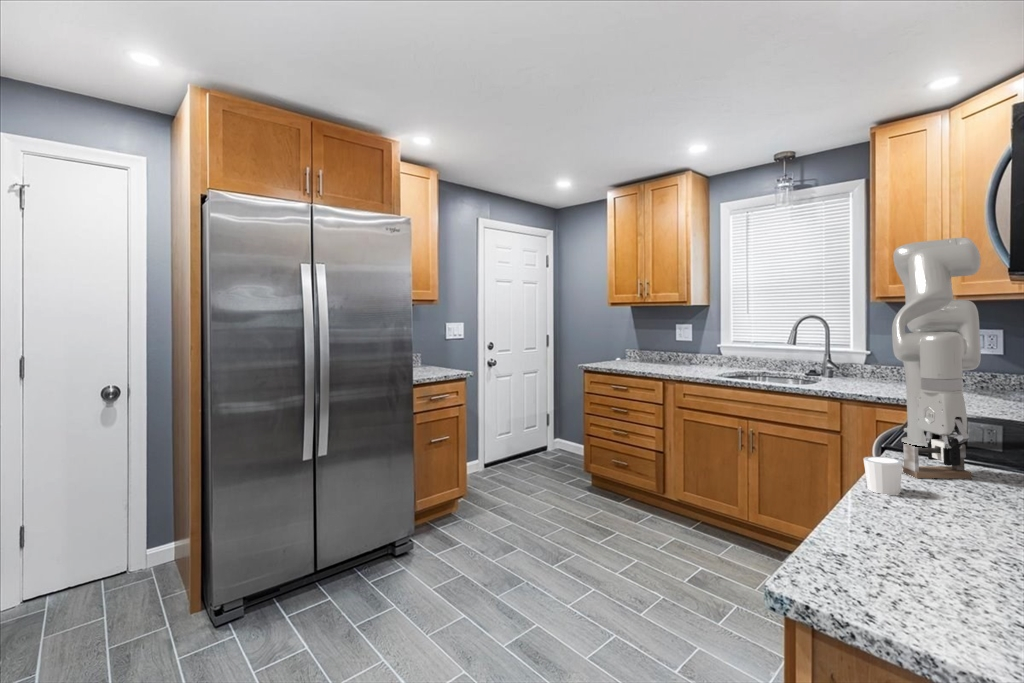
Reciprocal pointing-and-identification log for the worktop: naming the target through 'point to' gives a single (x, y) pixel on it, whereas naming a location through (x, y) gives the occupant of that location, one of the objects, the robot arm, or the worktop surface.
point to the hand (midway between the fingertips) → (943, 461)
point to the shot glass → (883, 474)
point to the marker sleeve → (938, 444)
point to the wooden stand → (932, 471)
